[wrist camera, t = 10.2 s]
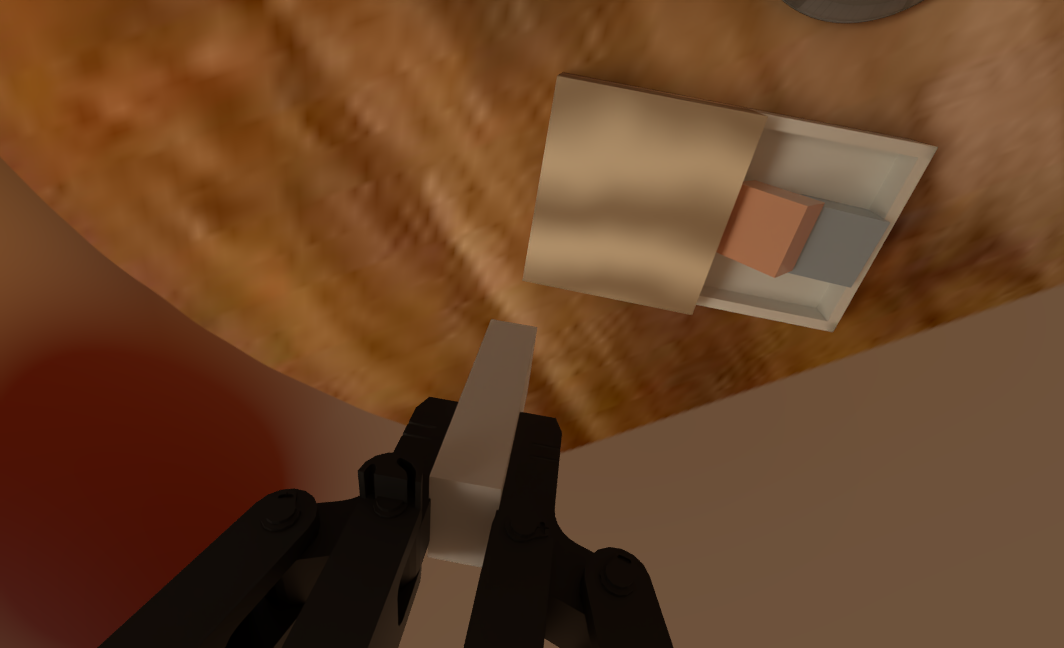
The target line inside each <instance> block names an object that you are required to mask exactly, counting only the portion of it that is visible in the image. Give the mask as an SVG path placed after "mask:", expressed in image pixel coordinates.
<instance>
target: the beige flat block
mask: <svg viewBox="0 0 1064 648" xmlns="http://www.w3.org/2000/svg"><path fill="white" fill-rule="evenodd" d="M767 118H768V116H766V115H763V114H761V113H758V112H756V111H753V110H751V109H748V108H745V107H740V106H735V105H729V104H724V103H719V102H714V101H709V100H703V99H698V98H693V97H688V96H683V95H677V94H672V93H667V92H662V91H657V90H651V89H646V88H641V87H636V86H631V85H625V84H620V83H615V82H610V81H604V80H599V79H594V78H589V77H584V76H578V75H573V74H568V73H561V74H559V75H558V76H557V81H556V86H555V92H554V98H553V104H552V110H551V116H550V122H549V128H548V134H547V139H546V145H545V151H544V157H543V163H542V169H541V175H540V181H539V187H538V192H537V198H536V204H535V210H534V216H533V222H532V228H531V234H530V240H529V245H528V251H527V257H526V263H525V269H524V275H523V281H527V282H532V283H537V284H541V285H546V286H551V287H556V288H561V289H566V290H571V291H576V292H581V293H586V294H591V295H596V296H601V297H606V298H611V299H616V300H621V301H625V302H630V303H635V304H640V305H645V306H650V307H655V308H660V309H665V310H670V311H675V312H680V313H685V314H690V315H692V314H693V311H694V308H695V306H696V303H697V301H698V298H699V295H700V293H701V290H702V288H703V285H704V282H705V280H706V277H707V275H708V272H709V269H710V267H711V264H712V262H713V259H714V256H715V254H716V251H717V248H718V246H719V243H720V241H721V238H722V235H723V233H724V230H725V228H726V225H727V222H728V220H729V217H730V215H731V212H732V209H733V207H734V204H735V202H736V199H737V196H738V194H739V191H740V189H741V186H742V183H743V181H744V178H745V176H746V173H747V170H748V168H749V165H750V163H751V160H752V157H753V155H754V152H755V150H756V147H757V144H758V142H759V139H760V137H761V134H762V131H763V129H764V126H765V124H766V121H767Z"/></svg>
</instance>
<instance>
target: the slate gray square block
mask: <svg viewBox="0 0 1064 648" xmlns="http://www.w3.org/2000/svg"><path fill="white" fill-rule="evenodd" d="M802 195H803V196H806V197H809V198H812V199H815V200H818V201H821V202H824V203H825V204H824V206H823V208H822V210H821V212H820V214H819V216H818V218H817V220H816V222H815V224H814V227H813V229H812V231H811V233H810V235H809V237H808V239H807V241H806V243H805V245H804V247H803V249H802V251H801V253H800V256H799V258H798V260H797V262H796V264H795V266H794V268H793V270H792V271H790V272H788V273H790V274H794V275H799V276H803V277H807V278H811V279H816V280H820V281H824V282H828V283H833V284H837V285H841V286H845V287H850V288H851V287H852V285H853V284H854V282H855V280H856V279H857V277H858V275H859V274H860V272H861V271H862V269H863V267H864V266H865V264H866V262H867V261H868V259H869V257H870V256H871V254H872V252H873V251H874V249H875V247H876V246H877V244H878V242H879V241H880V239H881V237H882V236H883V234H884V232H885V231H886V229H887V228H888V226H889V224H890V222H889V221H887V220H885V219H884V218H882V217H880V216H879V215H877V214H875V213H874V212H872V211H870V210H868V209H864V208H859V207H855V206H851V205H847V204H842V203H838V202H834V201H830V200H825V199H821V198H817V197H813V196H808V195H804V194H802Z"/></svg>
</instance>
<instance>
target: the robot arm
mask: <svg viewBox="0 0 1064 648" xmlns="http://www.w3.org/2000/svg"><path fill="white" fill-rule="evenodd" d="M536 332H537V327H533V326H527V325H522V324H516V323H510V322H504V321H498V320H492V319H491V321H490V324H489V326H488V329H487V331H486V334H485V337H484V339H483V342H482V344H481V347H480V349H479V352H478V354H477V357H476V359H475V362H474V364H473V367H472V370H471V372H470V375H469V377H468V380H467V382H466V385H465V387H464V390H463V392H462V395H461V397H460V400H459V402H456V401H450V400H445V399H439V398H433V397H429V398H427V399H426V400H425V401H424V402H422V403H421V404H420V405H419V406H417V407H416V409H415V411H414V413H413V415H412V417H411V419H410V421H409V424H407V426H406V428H405V430H404V432H403V436H402V437H401V438H400V440H399V442H398V444H397V446H396V448H395V450H394V452H393V453H385V454H381V455H377V456H375V457H373V458H371V459H370V460H368V461H366V462H365V463H364V464H363V465H362V467H361V468H360V469H359V470H358V479H359V490H360V496H358V497H355V498H353V499H349V500H343V501H335V502H325V503H316V501H315V499H314V497H313V496H312V495H310V494H309V493H307V492H306V491H303V490H298V489H285V490H279V491H277V492H274V493H271V494H268V495H267V496H265V497H264V498H263V499H261V500H260V501H258V502H256V503H255V504H254V505H253V506H252V507H251V508H250V509H249V510H248V511H247V512H245V513H244V514H243V515H242V516H241V517H240V518H239V519H238V520H237V521H236V522H234V523H233V524H232V525H231V526H230V527H229V528H228V529H227V530H226V531H225V532H224V533H222V534H221V535H220V536H219V537H218V538H217V539H216V540H215V541H214V542H213V543H211V544H210V545H209V546H208V547H207V548H206V549H205V550H204V551H203V552H202V553H201V554H199V555H198V556H197V557H196V558H195V559H194V560H193V561H192V562H191V563H190V564H188V565H187V566H186V567H185V568H184V569H183V570H182V571H181V572H180V573H179V574H178V575H177V576H175V577H174V578H173V579H172V580H171V581H170V582H169V583H168V584H167V585H166V586H164V587H163V588H162V589H161V590H160V591H159V592H158V593H157V594H156V595H155V596H153V597H152V598H151V599H150V600H149V601H148V602H147V603H146V604H145V605H144V606H142V607H141V608H140V609H139V610H138V611H137V612H136V613H135V614H134V615H133V616H132V617H131V618H129V619H128V620H127V621H126V622H125V623H124V624H123V625H122V626H121V627H120V628H118V629H117V630H116V631H115V632H114V633H113V634H112V635H111V636H110V637H109V638H107V639H106V640H105V641H104V642H103V643H102V644H101V645H100V646H99V647H98V648H398V646H399V643H400V640H401V637H402V634H403V631H404V628H405V625H406V622H407V619H408V616H409V613H410V610H411V607H412V604H413V601H414V598H415V595H416V592H417V589H418V586H419V583H420V578H421V564H422V562H423V558H424V556H425V553H426V550H427V547H428V557H431V558H436V559H441V560H446V561H451V562H457V563H462V564H467V565H472V566H478V567H482V570H481V574H480V578H479V582H478V587H477V591H476V596H475V600H474V605H473V609H472V613H471V618H470V622H469V627H468V631H467V635H466V639H465V644H464V648H543V647H544V638H545V639H546V640H548V641H550V642H551V643H553V644H555V645H556V646H558V647H559V648H673V645H672V642H671V639H670V636H669V633H668V630H667V627H666V624H665V621H664V618H663V615H662V612H661V609H660V606H659V603H658V600H657V597H656V594H655V591H654V588H653V585H652V582H651V579H650V576H649V574H648V573H647V571H646V569H645V567H644V565H643V564H642V563H641V562H640V561H639V560H638V559H637V558H636V557H635V556H634V555H632V554H630V553H629V552H627V551H625V550H622V549H619V548H611V547H608V548H603V549H599V550H597V551H596V552H595V553H593V552H592V551H590V550H588V549H586V548H584V547H582V546H580V545H578V544H576V543H575V542H574V541H572V540H570V539H569V538H568V537H567V536H566V535H565V534H564V533H563V532H562V530H561V529H560V527H559V525H558V524H557V521H556V518H555V499H556V488H557V478H558V468H559V457H560V448H561V437H562V432H561V429H560V427H559V425H558V422H557V420H556V418H552V417H546V416H541V415H535V414H529V413H524V412H523V410H524V406H525V401H526V396H527V390H528V384H529V377H530V371H531V364H532V358H533V351H534V345H535V338H536Z"/></svg>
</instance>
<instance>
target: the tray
mask: <svg viewBox="0 0 1064 648" xmlns="http://www.w3.org/2000/svg"><path fill="white" fill-rule="evenodd" d="M748 109H750V108H748ZM751 110H753V111H756V112H758V113H761V114H763V115H766V116H768V118H767V121H766V124H765V126H764V129H763V131H762V134H761V137H760V139H759V142H758V144H757V147H756V150H755V152H754V155H753V157H752V160H751V163H750V165H749V168H748V170H747V173H746V176H745V178H744V181H751V180H757V181H760V182H763V183H766V184H769V185H772V186H775V187H778V188H781V189H784V190H787V191H790V192H794V193H797V194H800V195H802V194H804V195H808V196H813V197H817V198H821V199H825V200H830V201H834V202H838V203H842V204H847V205H851V206H855V207H859V208H864V209H868V210H870V211H872V212H874V213H875V214H877V215H879V216H880V217H882V218H884V219H885V220H887V221H889V222H890V224H889V226H888V228H887V229H886V231H885V232H884V234H883V236H882V237H881V239H880V241H879V242H878V244H877V246H876V247H875V249H874V251H873V252H872V254H871V256H870V257H869V259H868V261H867V262H866V264H865V266H864V267H863V269H862V271H861V272H860V274H859V275H858V277H857V279H856V280H855V282H854V284H853V285H852V287H851V288H850V287H845V286H841V285H837V284H833V283H828V282H824V281H820V280H816V279H811V278H807V277H803V276H799V275H794V274H790V273H785V274H783V275H781V276H778V277H776V278H773V277H771V276H769V275H767V274H764V273H762V272H760V271H758V270H755V269H753V268H751V267H748V266H746V265H744V264H742V263H739V262H737V261H735V260H733V259H730V258H728V257H726V256H724V255H721V254H719V253H717V252H716V254H715V256H714V259H713V262H712V264H711V267H710V269H709V272H708V275H707V277H706V280H705V282H704V285H703V288H702V290H701V293H700V295H699V298H698V301H697V303H696V305H701V306H706V307H711V308H716V309H721V310H726V311H730V312H735V313H740V314H745V315H750V316H755V317H760V318H765V319H770V320H775V321H780V322H785V323H790V324H795V325H800V326H805V327H810V328H815V329H820V330H825V331H830V332H833V331H834V329H835V328H836V326H837V324H838V322H839V321H840V319H841V317H842V315H843V314H844V312H845V310H846V308H847V307H848V305H849V303H850V301H851V300H852V298H853V296H854V294H855V293H856V291H857V289H858V287H859V286H860V284H861V282H862V280H863V278H864V277H865V275H866V273H867V271H868V270H869V268H870V266H871V264H872V263H873V261H874V259H875V257H876V256H877V254H878V252H879V250H880V249H881V247H882V245H883V243H884V242H885V240H886V238H887V236H888V234H889V233H890V231H891V229H892V227H893V226H894V224H895V222H896V220H897V219H898V217H899V215H900V213H901V212H902V210H903V208H904V206H905V205H906V203H907V201H908V199H909V198H910V196H911V194H912V192H913V190H914V189H915V187H916V185H917V183H918V182H919V180H920V178H921V176H922V175H923V173H924V171H925V169H926V168H927V166H928V164H929V162H930V161H931V159H932V157H933V155H934V154H935V152H936V150H937V148H938V147H936V146H933V145H929V144H926V143H922V142H919V141H915V140H912V139H906V138H901V137H896V136H891V135H886V134H880V133H875V132H870V131H865V130H860V129H854V128H849V127H844V126H839V125H834V124H828V123H823V122H818V121H813V120H808V119H802V118H797V117H792V116H787V115H781V114H776V113H771V112H766V111H761V110H755V109H751Z"/></svg>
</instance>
